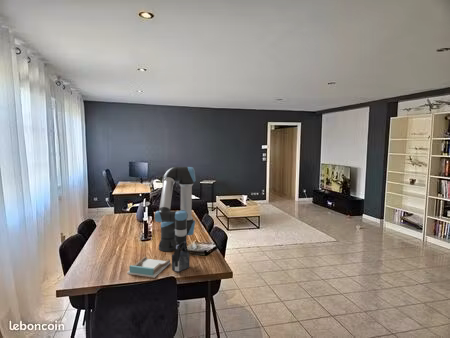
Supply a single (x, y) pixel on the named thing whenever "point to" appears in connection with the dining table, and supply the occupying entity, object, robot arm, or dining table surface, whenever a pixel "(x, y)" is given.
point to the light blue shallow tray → (148, 267)
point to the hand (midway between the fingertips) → (180, 266)
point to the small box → (182, 261)
